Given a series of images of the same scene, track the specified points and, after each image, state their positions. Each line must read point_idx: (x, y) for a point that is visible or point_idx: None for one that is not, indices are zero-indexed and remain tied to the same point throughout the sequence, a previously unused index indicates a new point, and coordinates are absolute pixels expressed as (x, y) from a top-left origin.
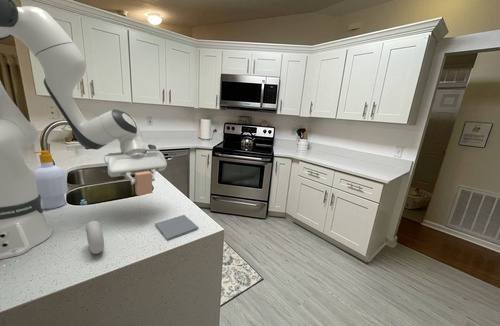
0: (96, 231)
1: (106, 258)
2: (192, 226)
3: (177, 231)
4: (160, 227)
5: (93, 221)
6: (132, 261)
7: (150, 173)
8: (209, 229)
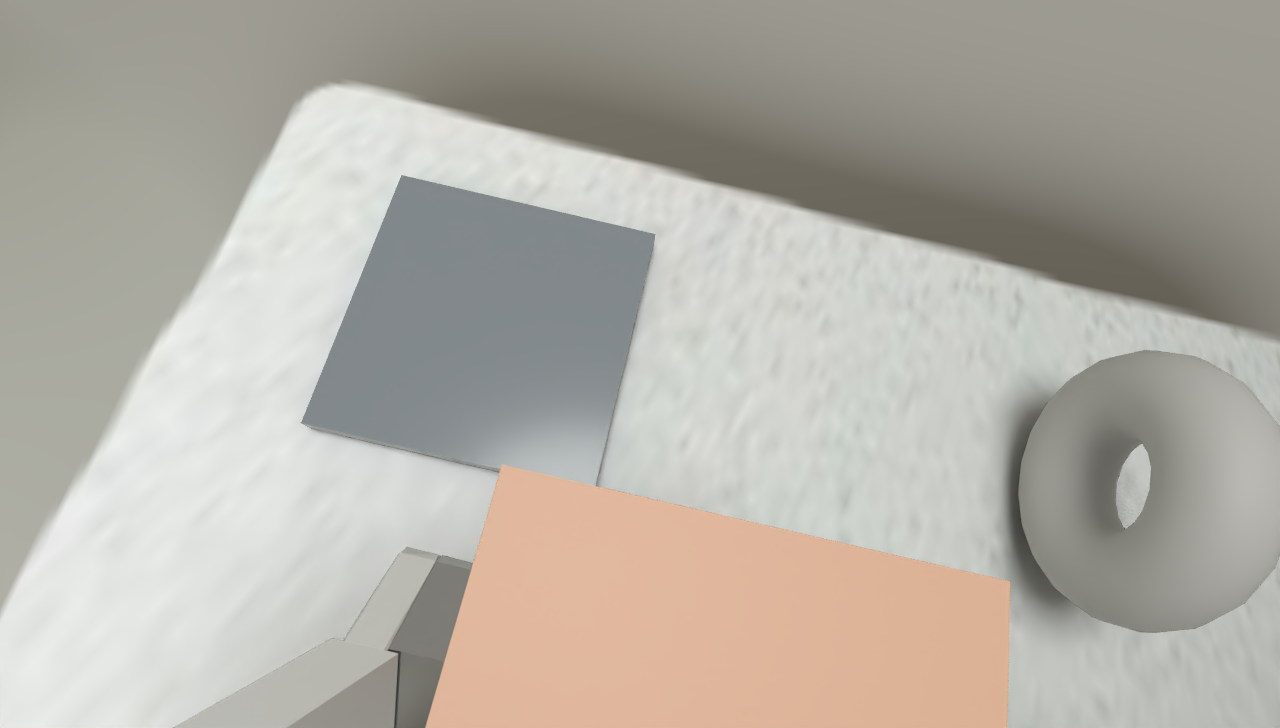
0: (1206, 368)
1: (1006, 375)
2: (423, 213)
3: (549, 248)
4: (600, 395)
5: (1260, 491)
6: (901, 239)
7: (544, 479)
8: (356, 129)
